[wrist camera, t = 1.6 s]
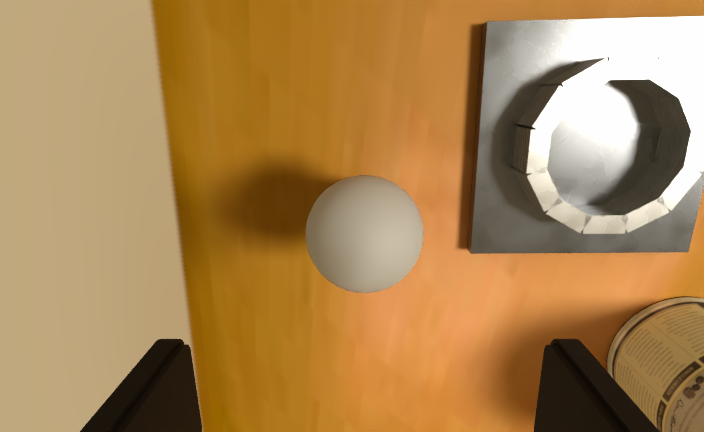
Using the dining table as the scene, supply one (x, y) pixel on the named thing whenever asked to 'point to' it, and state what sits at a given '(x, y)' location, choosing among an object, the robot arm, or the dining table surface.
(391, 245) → the lightbulb
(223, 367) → the dining table surface
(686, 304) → the coffee can
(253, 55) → the dining table surface
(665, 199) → the ring collar
